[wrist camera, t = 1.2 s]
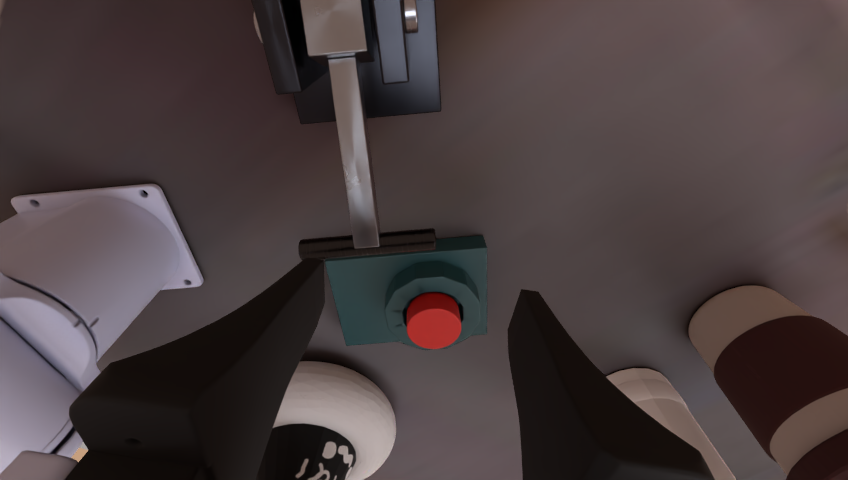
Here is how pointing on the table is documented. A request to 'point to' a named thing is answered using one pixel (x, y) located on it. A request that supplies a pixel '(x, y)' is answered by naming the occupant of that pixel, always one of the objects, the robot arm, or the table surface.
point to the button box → (409, 289)
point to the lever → (352, 130)
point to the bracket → (382, 79)
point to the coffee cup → (780, 377)
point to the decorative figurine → (329, 427)
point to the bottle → (669, 412)
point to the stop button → (433, 320)
